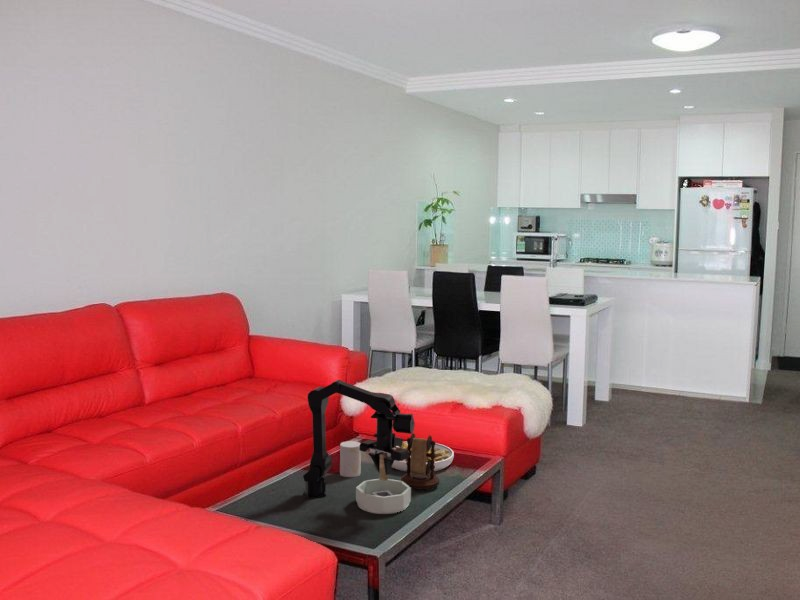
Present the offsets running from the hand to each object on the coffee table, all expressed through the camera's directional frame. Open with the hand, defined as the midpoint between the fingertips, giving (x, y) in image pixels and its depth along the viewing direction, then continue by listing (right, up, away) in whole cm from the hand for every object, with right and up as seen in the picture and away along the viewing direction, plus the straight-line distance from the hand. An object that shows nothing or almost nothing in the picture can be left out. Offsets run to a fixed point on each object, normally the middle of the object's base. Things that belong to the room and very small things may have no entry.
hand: (383, 473), depth 267 cm
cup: (-14, -8, +32) cm, 36 cm away
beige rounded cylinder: (0, -2, 0) cm, 2 cm away
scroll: (+13, -9, +20) cm, 26 cm away
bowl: (+13, -7, +47) cm, 50 cm away
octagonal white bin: (0, -11, +1) cm, 11 cm away
